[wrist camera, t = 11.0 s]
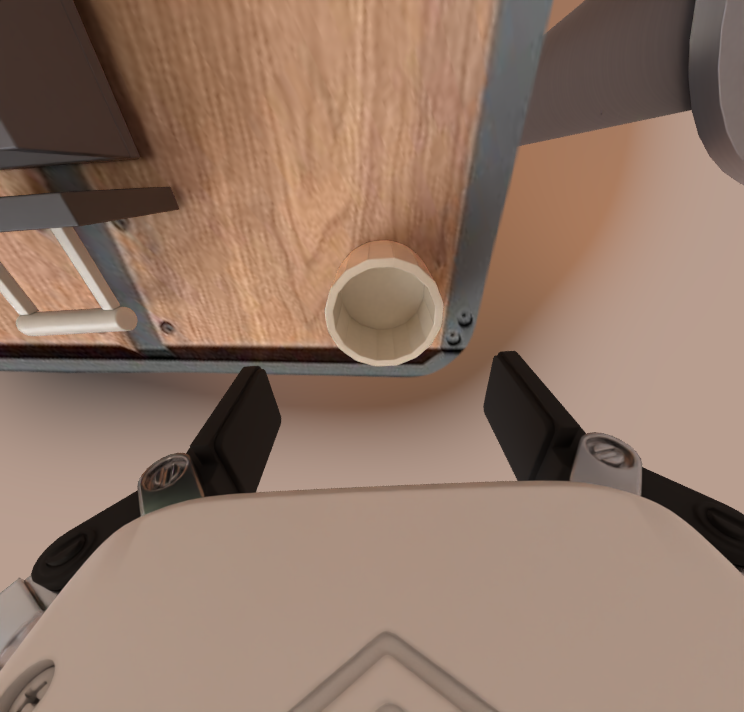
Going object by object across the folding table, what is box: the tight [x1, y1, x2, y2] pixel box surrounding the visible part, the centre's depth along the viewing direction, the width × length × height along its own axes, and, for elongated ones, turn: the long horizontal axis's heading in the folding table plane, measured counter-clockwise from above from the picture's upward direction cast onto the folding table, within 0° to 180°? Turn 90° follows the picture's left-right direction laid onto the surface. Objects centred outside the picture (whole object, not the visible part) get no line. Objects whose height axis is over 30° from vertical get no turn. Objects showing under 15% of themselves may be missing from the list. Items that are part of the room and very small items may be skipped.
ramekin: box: [325, 240, 444, 366], centre depth 18 cm, size 7×7×5 cm
